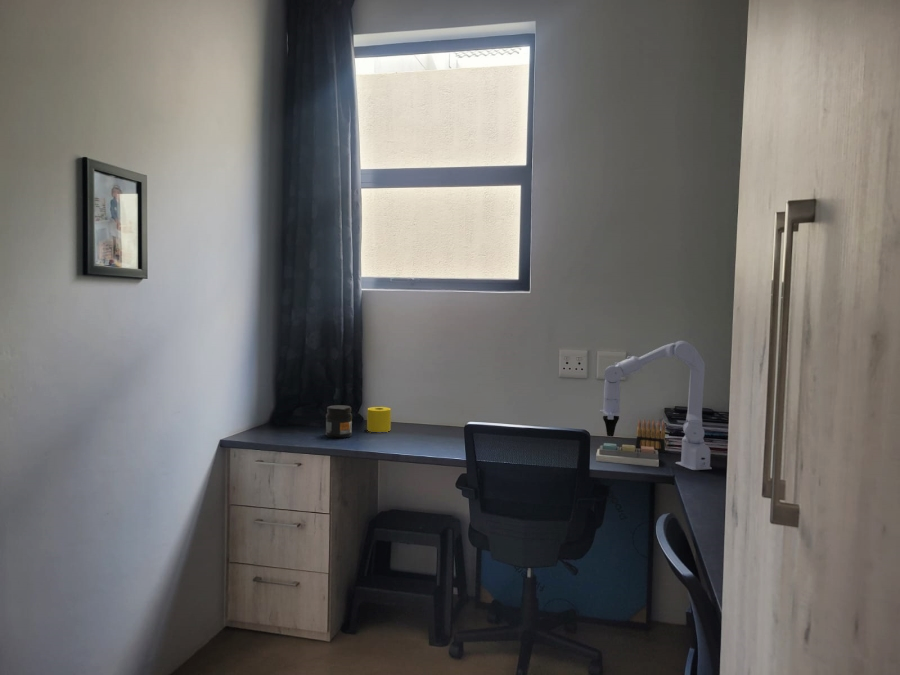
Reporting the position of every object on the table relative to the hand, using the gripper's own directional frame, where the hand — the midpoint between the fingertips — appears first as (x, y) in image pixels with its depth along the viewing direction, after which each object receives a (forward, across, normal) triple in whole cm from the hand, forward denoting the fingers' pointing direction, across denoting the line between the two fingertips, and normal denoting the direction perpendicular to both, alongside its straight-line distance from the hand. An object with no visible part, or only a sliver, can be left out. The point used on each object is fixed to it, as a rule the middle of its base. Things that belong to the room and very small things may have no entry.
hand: (610, 436), depth 222 cm
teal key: (+5, 0, 0) cm, 5 cm away
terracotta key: (+5, 0, +13) cm, 14 cm away
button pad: (+8, 0, +6) cm, 11 cm away
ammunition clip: (+8, -20, +15) cm, 26 cm away
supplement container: (+9, +3, -107) cm, 107 cm away
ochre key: (+5, 0, +6) cm, 8 cm away
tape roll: (+9, -13, -96) cm, 97 cm away
